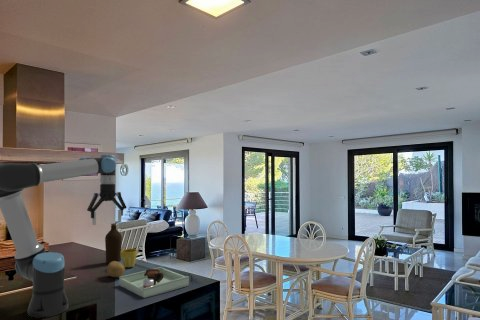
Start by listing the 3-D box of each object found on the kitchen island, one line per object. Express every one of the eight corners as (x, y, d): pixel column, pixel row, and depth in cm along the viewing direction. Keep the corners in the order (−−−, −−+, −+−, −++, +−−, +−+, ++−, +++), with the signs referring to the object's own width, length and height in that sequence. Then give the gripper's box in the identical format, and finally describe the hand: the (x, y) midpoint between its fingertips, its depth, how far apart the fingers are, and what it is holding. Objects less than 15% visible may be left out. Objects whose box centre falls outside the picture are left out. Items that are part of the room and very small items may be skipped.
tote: (144, 299, 158) (144, 289, 159) (119, 285, 177) (119, 276, 177) (189, 285, 177) (189, 276, 177) (162, 274, 195) (162, 266, 195)
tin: (146, 295, 161) (146, 282, 161) (141, 292, 165) (141, 280, 165) (155, 292, 165) (155, 280, 165) (150, 290, 168) (150, 277, 168)
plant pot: (116, 267, 210) (117, 251, 210) (126, 263, 220) (126, 248, 220) (131, 268, 207) (131, 252, 208) (140, 264, 217) (140, 249, 217)
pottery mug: (139, 285, 174) (140, 269, 179) (149, 288, 182) (151, 273, 186) (158, 283, 171) (159, 266, 175) (168, 286, 178) (169, 270, 182)
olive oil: (122, 262, 222) (122, 224, 223) (105, 264, 218) (105, 225, 219) (121, 258, 232) (121, 222, 233) (104, 260, 228) (104, 223, 228)
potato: (110, 281, 183) (110, 267, 184) (104, 275, 195) (104, 261, 195) (128, 278, 189) (128, 264, 189) (121, 272, 200) (121, 258, 201)
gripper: (86, 184, 169) (85, 226, 168) (132, 183, 186) (132, 221, 185) (81, 183, 174) (80, 224, 174) (127, 182, 191) (126, 220, 191)
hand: (107, 223), depth 179 cm, fingers open, 13 cm apart
